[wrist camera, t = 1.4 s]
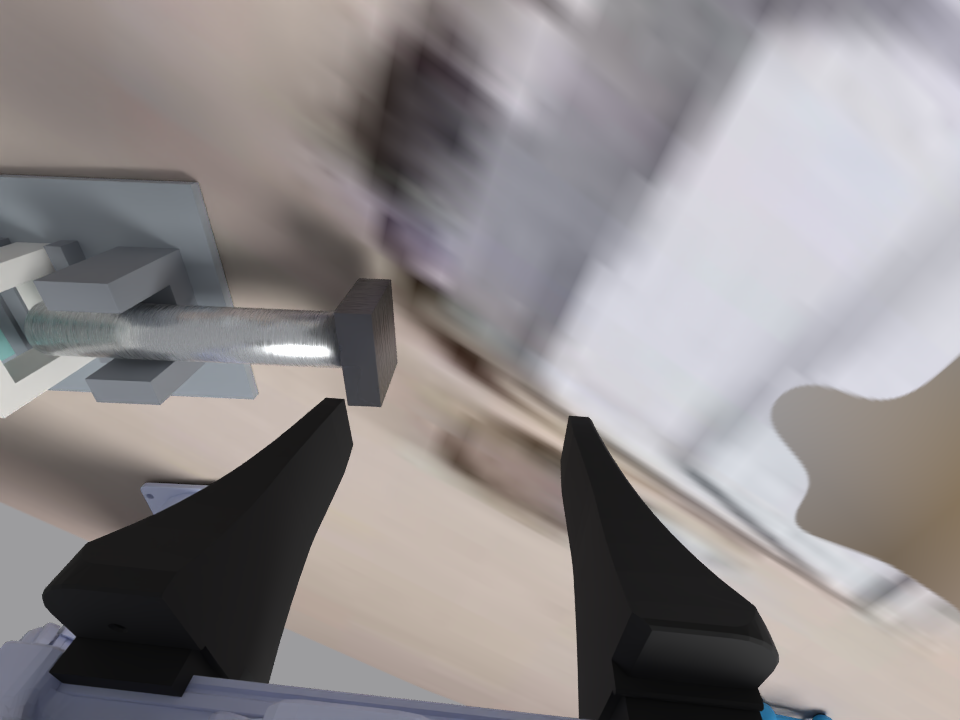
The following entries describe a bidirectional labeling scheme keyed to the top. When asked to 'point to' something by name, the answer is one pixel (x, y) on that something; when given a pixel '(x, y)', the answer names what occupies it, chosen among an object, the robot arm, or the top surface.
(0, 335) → the frame
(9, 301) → the jig
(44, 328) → the shaft
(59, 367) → the spacer
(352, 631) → the top surface
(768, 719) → the molecular structure
